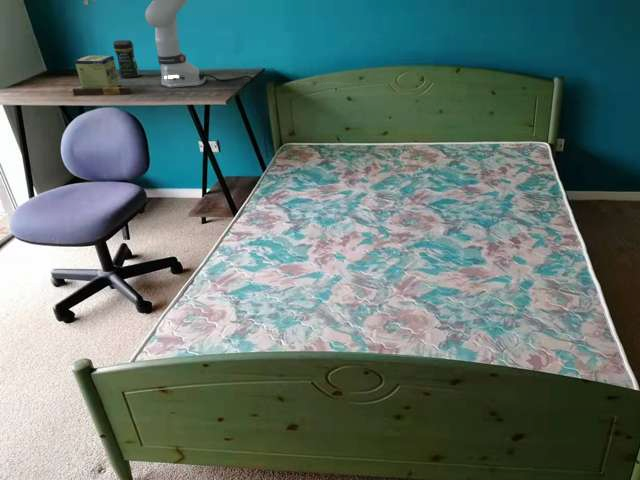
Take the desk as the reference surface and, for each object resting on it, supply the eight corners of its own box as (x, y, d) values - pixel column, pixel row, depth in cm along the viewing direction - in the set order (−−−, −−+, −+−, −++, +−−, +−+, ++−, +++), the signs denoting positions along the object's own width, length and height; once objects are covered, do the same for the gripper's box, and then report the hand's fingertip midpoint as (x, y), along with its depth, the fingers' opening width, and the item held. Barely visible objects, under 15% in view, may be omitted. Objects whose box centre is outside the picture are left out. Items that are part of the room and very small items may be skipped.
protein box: (111, 93, 297) (102, 60, 288) (82, 92, 299) (73, 60, 291) (122, 87, 305) (114, 55, 297) (94, 86, 308) (85, 55, 299)
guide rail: (131, 93, 296) (130, 86, 294) (130, 94, 294) (128, 88, 293) (75, 94, 297) (74, 88, 295) (74, 95, 295) (72, 89, 293)
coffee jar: (119, 78, 320) (109, 42, 310) (124, 74, 327) (115, 39, 316) (137, 78, 320) (128, 41, 310) (141, 74, 327) (133, 38, 316)
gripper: (83, -26, 272) (88, 7, 279) (101, -32, 288) (106, -1, 296) (69, -27, 271) (74, 6, 279) (88, -33, 288) (93, -2, 296)
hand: (91, 2), depth 288 cm, fingers open, 8 cm apart
